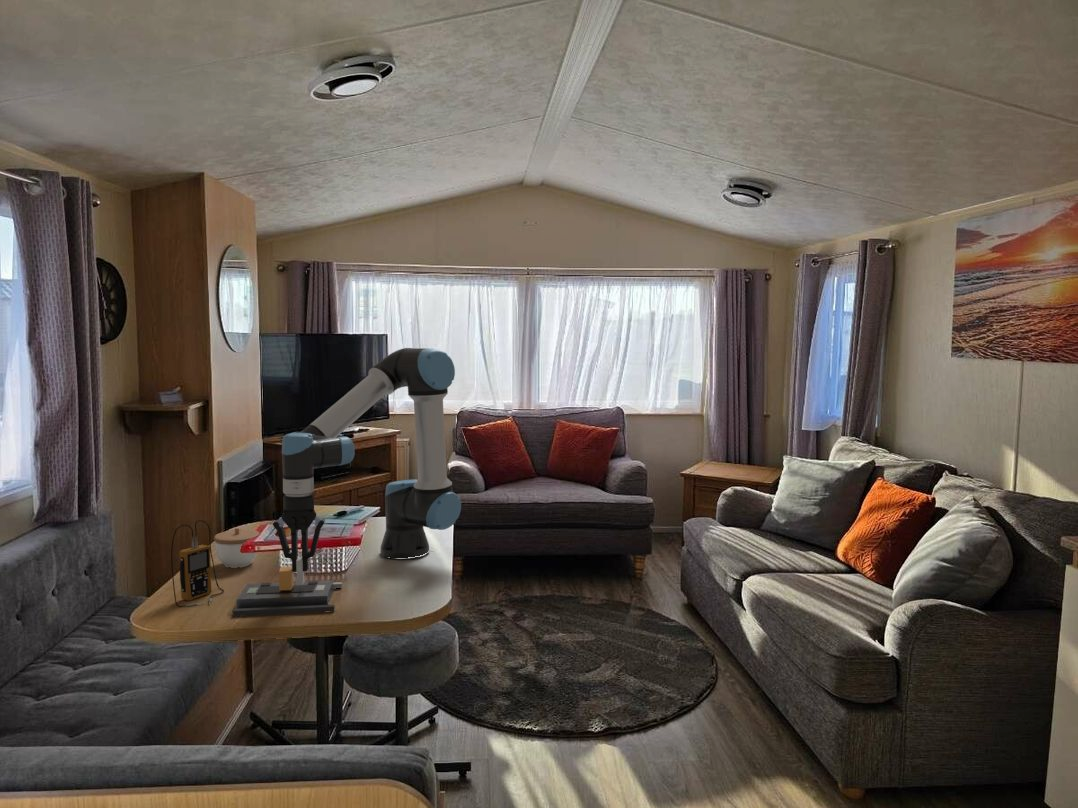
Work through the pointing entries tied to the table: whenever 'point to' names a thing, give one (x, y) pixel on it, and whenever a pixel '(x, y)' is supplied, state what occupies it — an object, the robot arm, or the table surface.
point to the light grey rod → (337, 585)
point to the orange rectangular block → (286, 578)
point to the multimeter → (195, 570)
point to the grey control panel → (285, 595)
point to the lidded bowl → (234, 547)
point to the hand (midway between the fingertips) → (300, 583)
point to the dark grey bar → (282, 610)
